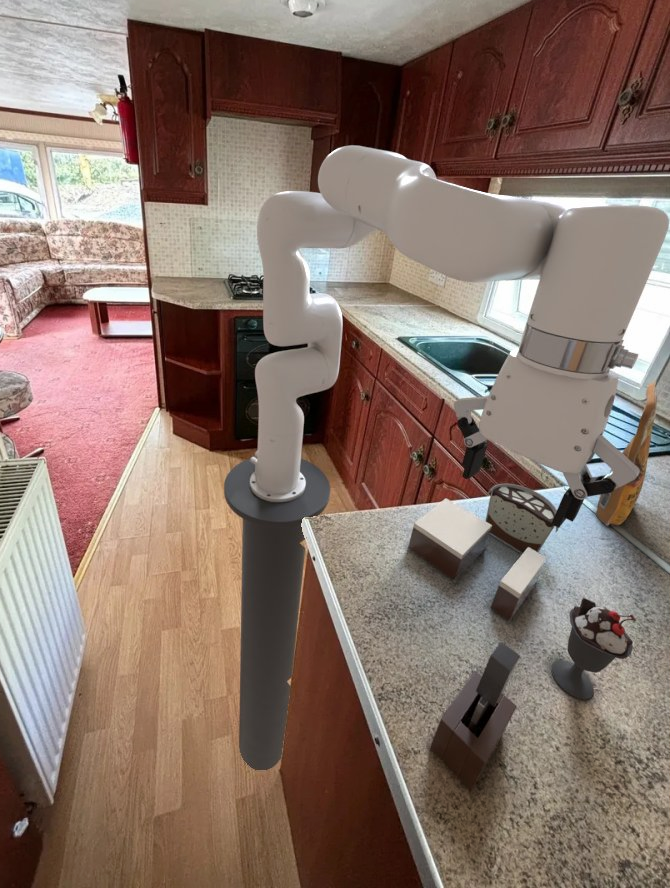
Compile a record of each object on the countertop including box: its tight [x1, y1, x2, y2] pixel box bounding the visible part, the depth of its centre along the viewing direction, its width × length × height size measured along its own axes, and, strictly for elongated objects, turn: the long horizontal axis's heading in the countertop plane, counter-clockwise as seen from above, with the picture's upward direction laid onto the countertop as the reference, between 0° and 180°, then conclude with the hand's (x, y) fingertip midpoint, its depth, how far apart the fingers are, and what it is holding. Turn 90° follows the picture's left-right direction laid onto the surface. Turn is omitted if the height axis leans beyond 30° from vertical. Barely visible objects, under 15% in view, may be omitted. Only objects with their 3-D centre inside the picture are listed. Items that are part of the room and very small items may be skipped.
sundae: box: [550, 597, 637, 700], centre depth 52 cm, size 7×7×15 cm
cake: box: [407, 498, 492, 582], centre depth 73 cm, size 9×11×6 cm
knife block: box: [429, 670, 518, 793], centre depth 46 cm, size 5×8×6 cm, turn 132°
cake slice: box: [489, 547, 548, 622], centre depth 65 cm, size 3×11×6 cm, turn 132°
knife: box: [467, 640, 521, 736], centre depth 44 cm, size 2×4×16 cm, turn 132°
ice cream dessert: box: [485, 483, 559, 555], centre depth 76 cm, size 12×6×10 cm, turn 40°
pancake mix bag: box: [595, 380, 658, 527], centre depth 83 cm, size 7×19×28 cm, turn 132°
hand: (512, 495), depth 45 cm, fingers open, 9 cm apart
